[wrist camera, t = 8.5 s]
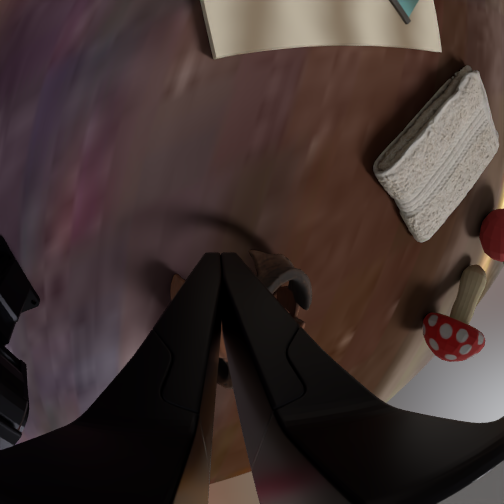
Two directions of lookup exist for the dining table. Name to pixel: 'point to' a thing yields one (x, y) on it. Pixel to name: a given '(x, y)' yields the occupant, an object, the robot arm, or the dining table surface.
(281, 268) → the pottery mug
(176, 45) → the dining table surface
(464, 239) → the dining table surface
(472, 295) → the decorative mushroom
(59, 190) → the dining table surface
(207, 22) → the napkin
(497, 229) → the tomato
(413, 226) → the washcloth
